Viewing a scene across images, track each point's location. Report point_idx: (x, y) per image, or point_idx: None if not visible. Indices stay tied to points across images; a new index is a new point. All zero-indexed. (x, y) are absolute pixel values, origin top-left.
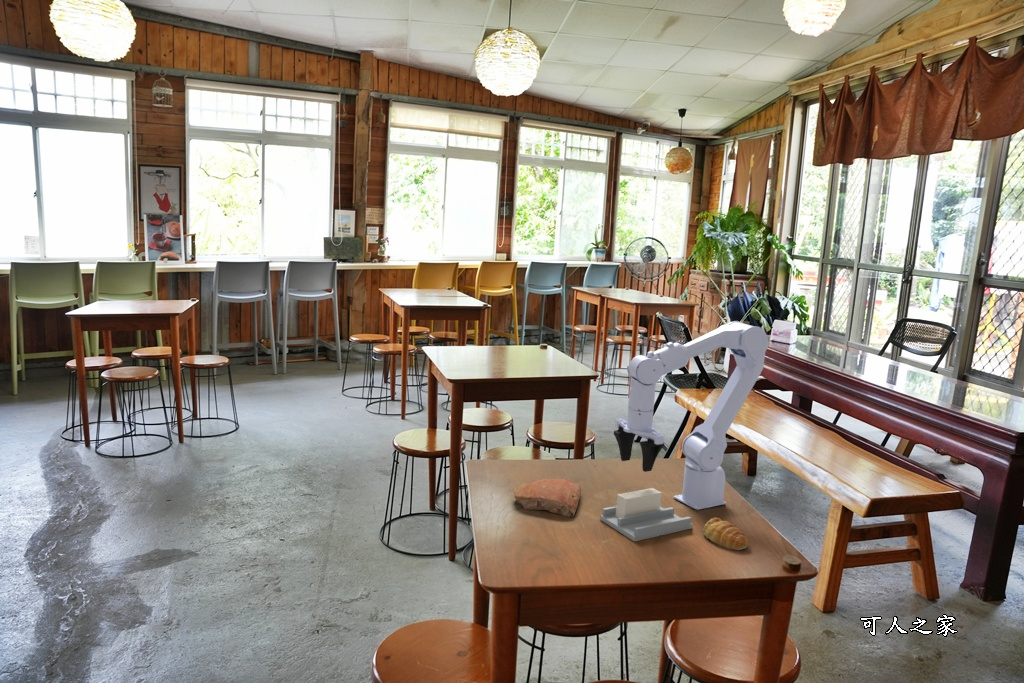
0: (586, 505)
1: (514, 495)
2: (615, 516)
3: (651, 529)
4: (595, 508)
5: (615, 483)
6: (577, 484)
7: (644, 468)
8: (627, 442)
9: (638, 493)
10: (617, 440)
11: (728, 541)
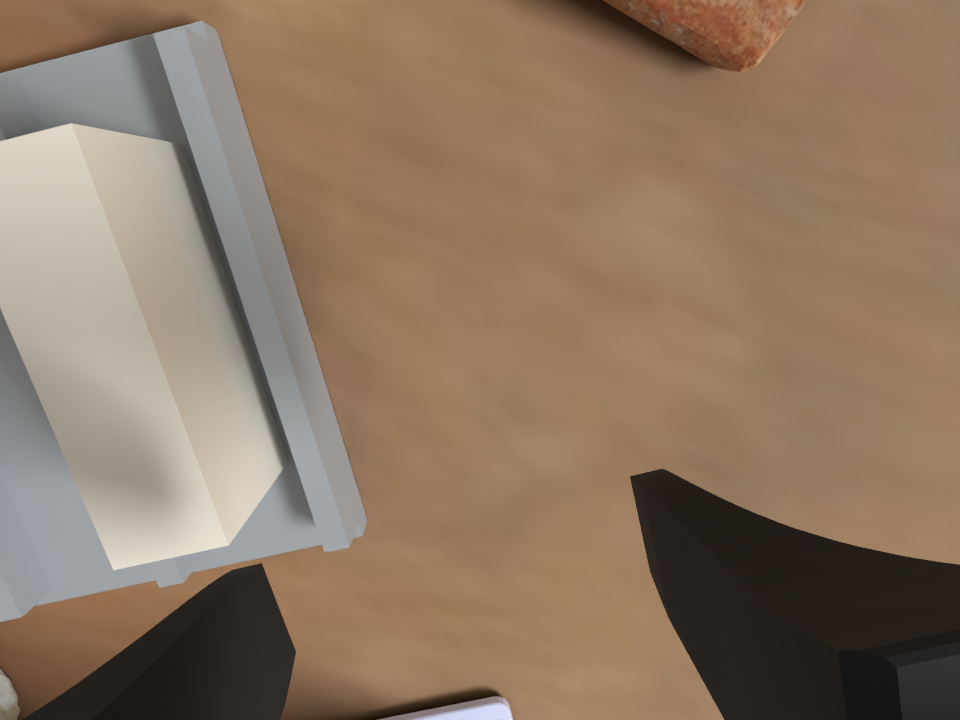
0: (494, 33)
1: None
2: (174, 140)
3: None
4: (427, 86)
5: (842, 446)
6: (752, 11)
7: (207, 587)
8: (757, 718)
9: (96, 357)
10: (862, 560)
11: None
